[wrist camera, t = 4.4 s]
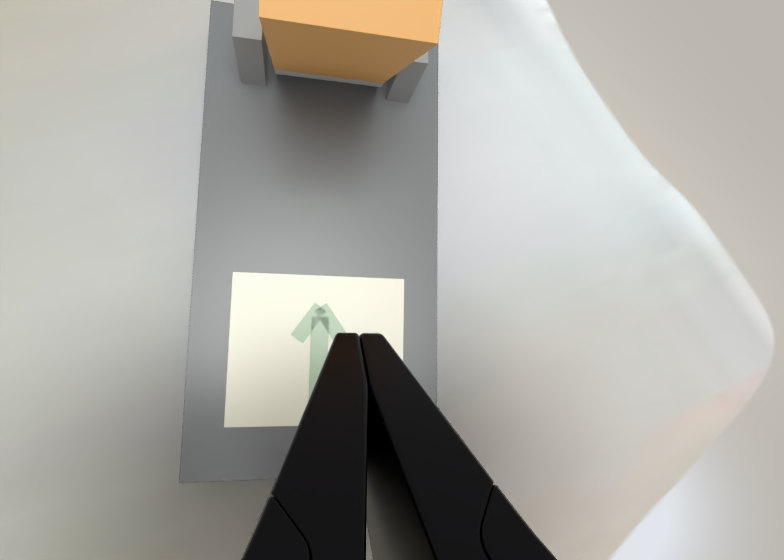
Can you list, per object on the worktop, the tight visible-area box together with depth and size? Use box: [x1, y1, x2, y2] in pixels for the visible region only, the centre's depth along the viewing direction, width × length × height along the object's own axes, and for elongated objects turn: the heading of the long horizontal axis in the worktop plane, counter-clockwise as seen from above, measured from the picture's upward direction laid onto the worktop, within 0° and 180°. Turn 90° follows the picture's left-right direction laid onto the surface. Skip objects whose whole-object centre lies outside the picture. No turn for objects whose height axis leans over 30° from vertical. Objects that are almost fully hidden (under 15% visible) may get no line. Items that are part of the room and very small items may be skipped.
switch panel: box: [179, 0, 438, 483], centre depth 19 cm, size 20×10×5 cm, turn 179°
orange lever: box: [259, 0, 443, 87], centre depth 16 cm, size 2×4×10 cm, turn 89°
